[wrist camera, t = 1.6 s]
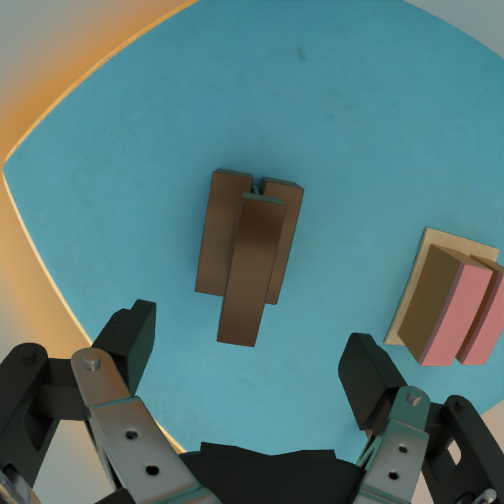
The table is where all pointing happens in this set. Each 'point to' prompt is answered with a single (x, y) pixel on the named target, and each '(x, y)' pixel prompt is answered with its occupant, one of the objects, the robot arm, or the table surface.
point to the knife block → (224, 224)
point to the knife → (250, 267)
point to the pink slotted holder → (451, 302)
